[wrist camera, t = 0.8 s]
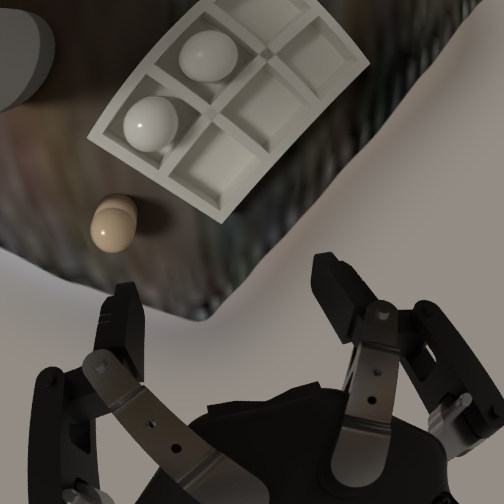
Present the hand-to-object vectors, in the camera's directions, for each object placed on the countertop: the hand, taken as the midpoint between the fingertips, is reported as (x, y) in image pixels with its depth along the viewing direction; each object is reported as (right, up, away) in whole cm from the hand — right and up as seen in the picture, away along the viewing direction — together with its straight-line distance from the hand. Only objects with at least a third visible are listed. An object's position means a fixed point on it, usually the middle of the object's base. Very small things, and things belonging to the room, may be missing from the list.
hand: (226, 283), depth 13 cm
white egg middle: (-3, +18, +8) cm, 20 cm away
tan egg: (-13, +5, +15) cm, 20 cm away
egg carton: (-1, +17, +11) cm, 20 cm away
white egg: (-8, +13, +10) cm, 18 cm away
